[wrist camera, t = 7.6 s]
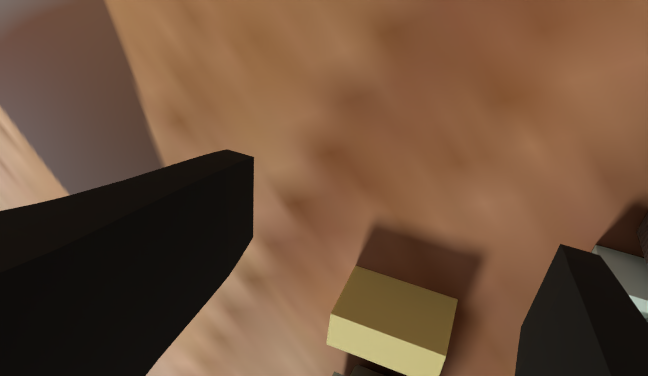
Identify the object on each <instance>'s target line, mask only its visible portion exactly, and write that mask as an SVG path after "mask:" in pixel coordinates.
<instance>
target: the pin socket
mask: <svg viewBox="0 0 648 376" xmlns="http://www.w3.org/2000/svg"><path fill="white" fill-rule="evenodd" d="M637 235H638V239H639V242H640V245H641V248H642V252H643V255H644V258H645V262H646V265H647V266H648V213H647V214H646V216H645V218H644V219H643V221H642V223H641V225H640V226H639V228H638V230H637Z"/></svg>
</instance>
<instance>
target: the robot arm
mask: <svg viewBox="0 0 648 376" xmlns="http://www.w3.org/2000/svg"><path fill="white" fill-rule="evenodd" d="M253 187H254V157H252V156H248V155H245V154H241V153H238V152H234V151H231V150H222V151H218V152H214V153H210V154H206V155H203V156H199V157H196V158H193V159H190V160H186V161H183V162H180V163H177V164H174V165H171V166H167V167H164V168H161V169H158V170H155V171H152V172H149V173H145V174H142V175H139V176H136V177H133V178H129V179H126V180H123V181H119V182H116V183H112V184H109V185H105V186H102V187H98V188H94V189H91V190H87V191H84V192H81V193H77V194H73V195H70V196H66V197H62V198H58V199H54V200H50V201H45V202H41V203H37V204H32V205H28V206H23V207H18V208H13V209H8V210H3V211H0V376H146V374H147V373H148V372H149V370H150V369H151V368H152V367H153V365H154V364H155V363H156V362H157V360H158V359H159V358H160V357H161V355H162V354H163V353H164V352H165V351H166V350H167V348H168V347H169V346H170V345H171V344H172V343H173V341H174V340H175V339H176V338H177V337H178V336H179V334H180V333H181V332H182V331H183V330H184V328H185V327H186V326H187V325H188V324H189V323H190V321H191V320H192V319H193V318H194V317H195V316H196V314H197V313H198V312H199V311H200V310H201V309H202V307H203V306H204V305H205V304H206V303H207V301H208V300H209V299H210V298H211V297H212V295H213V294H214V293H215V292H216V291H217V289H218V288H219V287H220V286H221V285H222V283H223V282H224V281H225V280H226V279H227V277H228V276H229V275H230V273H231V272H232V270H233V269H234V267H235V266H236V264H237V263H238V261H239V259H240V258H241V256H242V255H243V253H244V251H245V250H246V248H247V246H248V245H249V243H250V241H251V240H252V238H253ZM515 376H648V322H647V321H646V319H645V318H644V316H643V315H642V314H641V312H640V311H639V309H638V308H637V306H636V305H635V304H634V302H633V301H632V299H631V298H630V296H629V295H628V294H627V292H626V291H625V289H624V288H623V286H622V285H621V284H620V282H619V281H618V279H617V278H616V276H615V275H614V274H613V272H612V271H611V269H610V268H609V267H608V265H607V264H606V262H605V261H604V260H603V259H602V257H601V256H600V255H597V254H594V253H590V252H587V251H583V250H579V249H576V248H572V247H569V246H565V245H562V244H560V246H559V248H558V250H557V252H556V254H555V256H554V259H553V261H552V263H551V265H550V267H549V269H548V271H547V273H546V276H545V278H544V280H543V282H542V284H541V286H540V288H539V290H538V292H537V295H536V297H535V299H534V301H533V303H532V305H531V307H530V309H529V311H528V314H527V316H526V318H525V320H524V322H523V324H522V326H521V332H520V339H519V346H518V354H517V362H516V371H515Z"/></svg>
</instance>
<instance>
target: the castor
mask: <svg viewBox="0 0 648 376" xmlns="http://www.w3.org/2000/svg"><path fill="white" fill-rule="evenodd" d="M333 376H344V375H341V374H339V373H336V372H334V373H333ZM350 376H385V375H383V374H380V373H378V372H375V371H372V370H370V369H367V368H365V367H362V366H360V365H356V366H355V367H354V369H353V371H352V373H351V375H350Z"/></svg>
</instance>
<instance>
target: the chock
mask: <svg viewBox="0 0 648 376" xmlns="http://www.w3.org/2000/svg"><path fill="white" fill-rule="evenodd" d="M457 302H458V299H455V298H452V297H449V296H446V295H443V294H440V293H437V292H434V291H431V290H428V289H425V288H422V287H419V286H416V285H413V284H410V283H407V282H404V281H401V280H398V279H395V278H392V277H389V276H386V275H383V274H380V273H377V272H374V271H371V270H368V269H365V268H362V267H359V266H355V268H354V270H353V272H352V273H351V275H350V277H349V279H348V281H347V283H346V285H345V287H344V289H343V291H342V293H341V295H340V297H339V299H338V301H337V303H336V305H335V307H334V309H333V311H332V312H331V316H330V323H329V330H328V337H327V344H328V345H330V346H333V347H335V348H338V349H340V350H343V351H346V352H348V353H351V354H353V355H356V356H358V357H361V358H364V359H366V360H369V361H371V362H374V363H376V364H379V365H382V366H384V367H387V368H389V369H392V370H394V371H397V372H400V373H402V374H405V375H407V376H439V375H440V372H441V369H442V366H443V364H444V361H445V358H446V355H447V350H448V345H449V340H450V335H451V331H452V326H453V321H454V316H455V311H456V306H457Z"/></svg>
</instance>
